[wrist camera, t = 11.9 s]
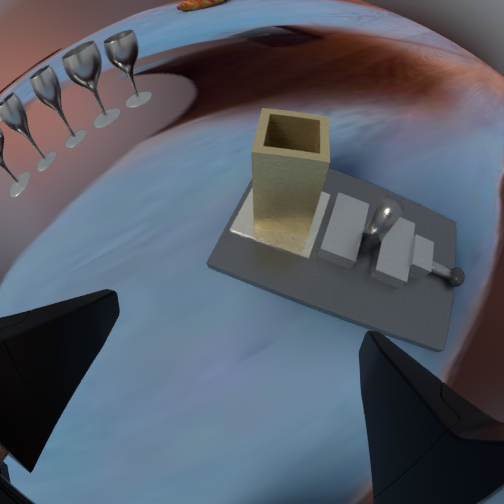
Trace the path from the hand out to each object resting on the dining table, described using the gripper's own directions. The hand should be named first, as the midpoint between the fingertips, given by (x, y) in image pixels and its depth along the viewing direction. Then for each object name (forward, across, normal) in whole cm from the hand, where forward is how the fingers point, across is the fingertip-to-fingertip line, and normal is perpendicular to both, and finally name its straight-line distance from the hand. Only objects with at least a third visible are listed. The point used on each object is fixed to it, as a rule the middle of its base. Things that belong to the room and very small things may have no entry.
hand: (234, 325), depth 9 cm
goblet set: (+25, +30, -7) cm, 40 cm away
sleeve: (+17, -1, -1) cm, 17 cm away
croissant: (+76, +30, -58) cm, 100 cm away
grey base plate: (+16, -9, +2) cm, 19 cm away
